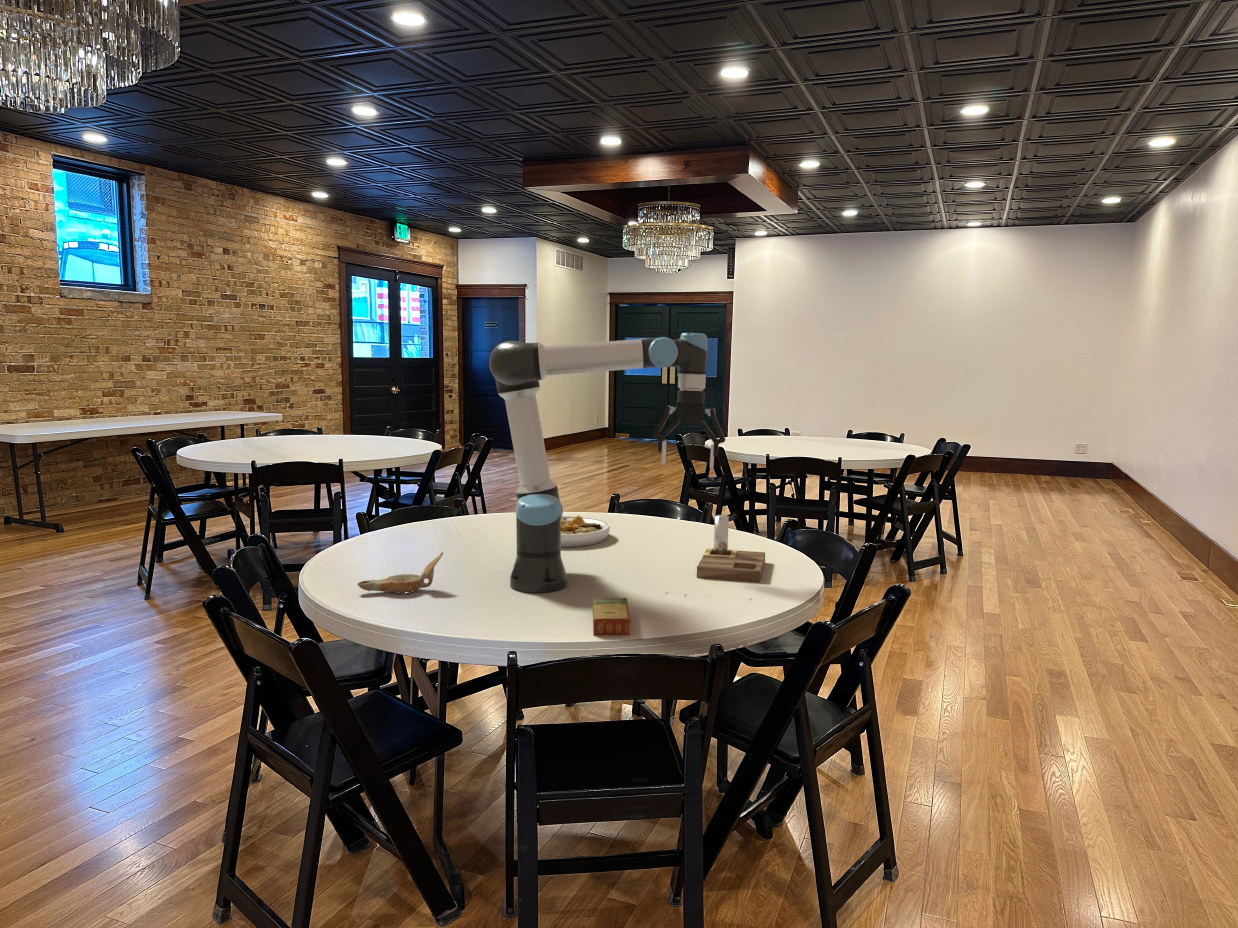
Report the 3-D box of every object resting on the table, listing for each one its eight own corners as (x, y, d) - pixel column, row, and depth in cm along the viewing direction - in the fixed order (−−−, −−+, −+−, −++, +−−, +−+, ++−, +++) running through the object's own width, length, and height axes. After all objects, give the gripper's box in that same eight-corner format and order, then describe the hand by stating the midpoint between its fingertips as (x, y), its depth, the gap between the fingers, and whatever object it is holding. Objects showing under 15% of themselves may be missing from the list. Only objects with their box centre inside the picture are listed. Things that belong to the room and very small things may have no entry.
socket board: (759, 585, 214) (760, 570, 213) (696, 581, 218) (696, 565, 217) (764, 565, 235) (765, 551, 235) (707, 561, 239) (707, 547, 239)
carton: (592, 637, 174) (592, 618, 174) (592, 614, 190) (592, 596, 190) (630, 636, 175) (630, 617, 174) (627, 613, 191) (627, 596, 190)
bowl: (624, 535, 276) (624, 512, 275) (584, 553, 249) (584, 529, 248) (548, 526, 288) (548, 505, 287) (502, 543, 261) (502, 520, 260)
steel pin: (726, 565, 231) (727, 517, 229) (712, 564, 232) (713, 517, 230) (727, 562, 235) (729, 515, 233) (714, 561, 236) (715, 514, 234)
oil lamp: (444, 593, 204) (443, 555, 203) (356, 599, 199) (355, 559, 198) (443, 584, 213) (442, 547, 211) (358, 589, 207) (357, 551, 206)
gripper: (737, 391, 223) (733, 467, 225) (649, 387, 228) (645, 461, 231) (735, 392, 215) (730, 470, 218) (644, 387, 221) (640, 464, 223)
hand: (687, 465), depth 224 cm, fingers open, 13 cm apart
